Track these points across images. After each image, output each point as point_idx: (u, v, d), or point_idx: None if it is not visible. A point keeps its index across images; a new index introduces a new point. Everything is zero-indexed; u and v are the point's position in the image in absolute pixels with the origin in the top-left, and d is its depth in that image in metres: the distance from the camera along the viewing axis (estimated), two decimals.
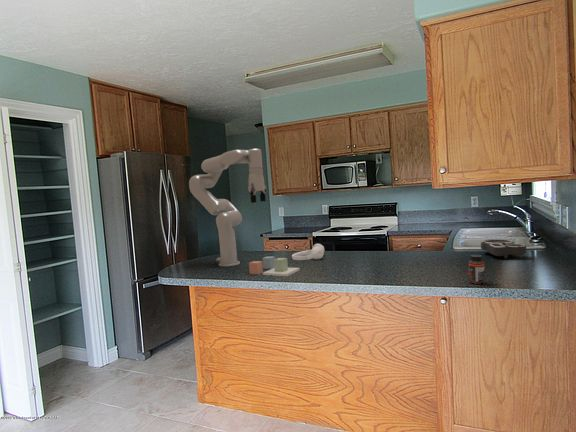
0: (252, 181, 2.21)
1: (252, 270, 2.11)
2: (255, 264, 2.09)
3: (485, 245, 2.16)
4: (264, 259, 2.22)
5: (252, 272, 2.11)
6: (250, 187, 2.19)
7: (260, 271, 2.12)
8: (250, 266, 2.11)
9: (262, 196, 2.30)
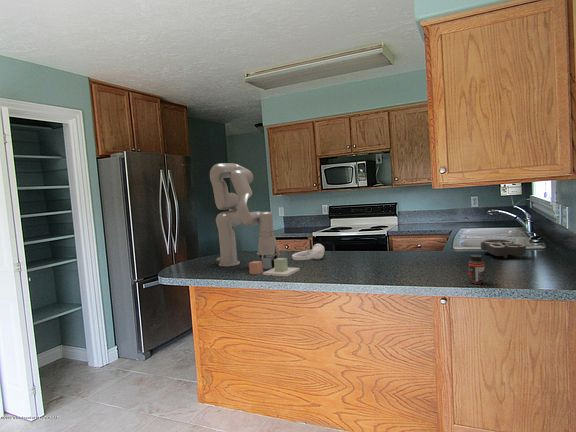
0: (275, 244, 2.21)
1: (252, 270, 2.11)
2: (255, 264, 2.09)
3: (485, 245, 2.16)
4: (264, 259, 2.22)
5: (252, 272, 2.11)
6: None
7: (260, 271, 2.12)
8: (250, 266, 2.11)
9: None
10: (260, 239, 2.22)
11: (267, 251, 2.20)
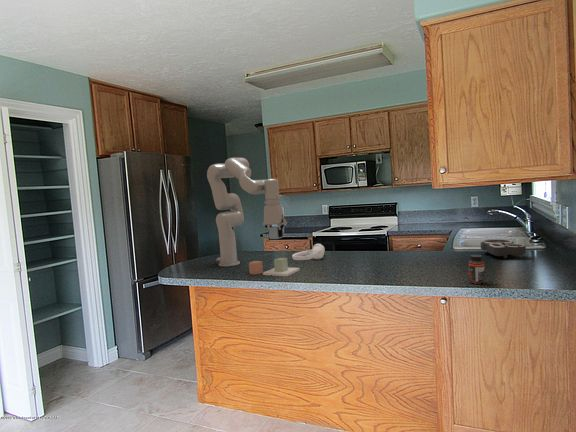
0: (282, 212, 2.10)
1: (252, 270, 2.11)
2: (255, 264, 2.09)
3: (485, 245, 2.16)
4: (270, 229, 2.11)
5: (252, 272, 2.11)
6: None
7: (260, 271, 2.12)
8: (250, 266, 2.11)
9: None
10: (266, 208, 2.11)
11: (273, 220, 2.09)
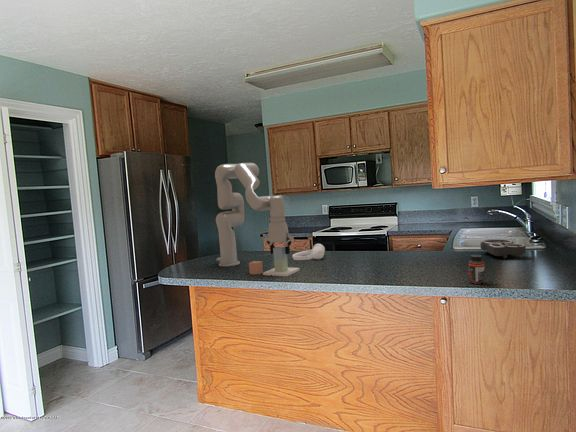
0: (287, 230, 2.06)
1: (252, 270, 2.11)
2: (255, 264, 2.09)
3: (485, 245, 2.16)
4: (275, 249, 2.07)
5: (252, 272, 2.11)
6: None
7: (260, 271, 2.12)
8: (250, 266, 2.11)
9: None
10: (270, 225, 2.07)
11: (278, 238, 2.05)
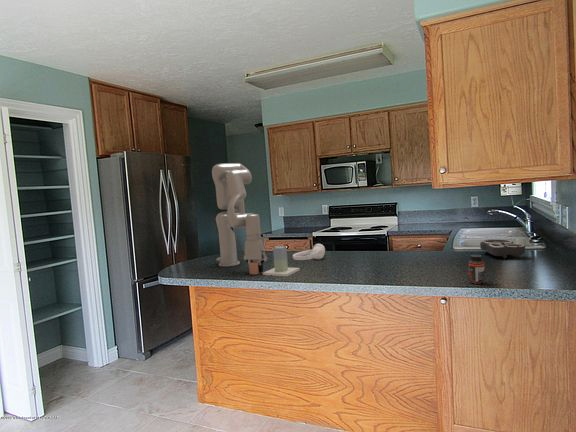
0: (262, 248, 2.10)
1: (252, 270, 2.11)
2: (255, 264, 2.09)
3: (484, 245, 2.16)
4: (275, 249, 2.07)
5: (252, 272, 2.11)
6: None
7: None
8: (250, 266, 2.11)
9: None
10: (246, 243, 2.11)
11: (254, 255, 2.09)
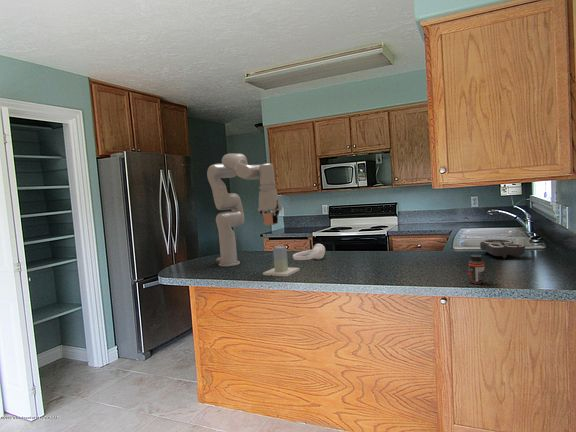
0: (277, 198, 2.05)
1: (267, 221, 2.06)
2: (269, 214, 2.05)
3: (484, 245, 2.16)
4: (275, 249, 2.07)
5: (266, 223, 2.06)
6: (280, 207, 2.05)
7: None
8: (264, 217, 2.07)
9: None
10: (260, 193, 2.07)
11: (268, 205, 2.05)
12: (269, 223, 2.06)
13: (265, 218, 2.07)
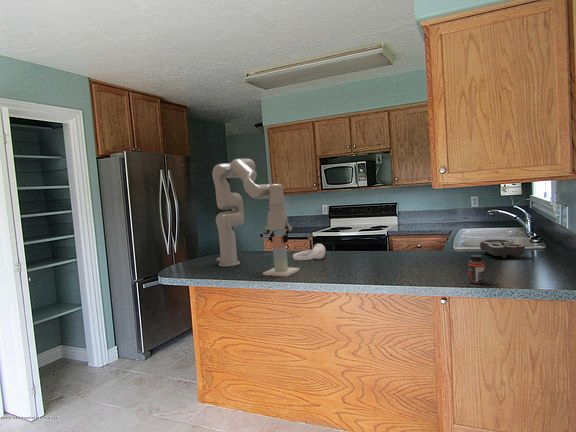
0: (286, 218, 2.05)
1: (276, 244, 2.07)
2: (279, 238, 2.05)
3: (484, 245, 2.16)
4: (275, 249, 2.07)
5: (275, 246, 2.07)
6: None
7: (283, 245, 2.08)
8: (273, 240, 2.07)
9: None
10: (269, 213, 2.07)
11: (277, 226, 2.05)
12: (278, 246, 2.06)
13: (274, 241, 2.07)
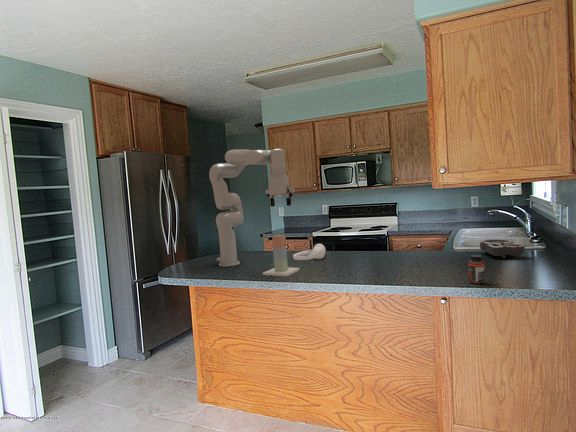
0: (287, 183, 2.08)
1: (276, 244, 2.07)
2: (279, 238, 2.05)
3: (484, 245, 2.16)
4: (275, 249, 2.07)
5: (275, 246, 2.07)
6: None
7: (283, 245, 2.08)
8: (273, 240, 2.07)
9: (273, 201, 2.13)
10: (271, 178, 2.09)
11: (279, 190, 2.07)
12: (278, 246, 2.06)
13: (274, 241, 2.07)
